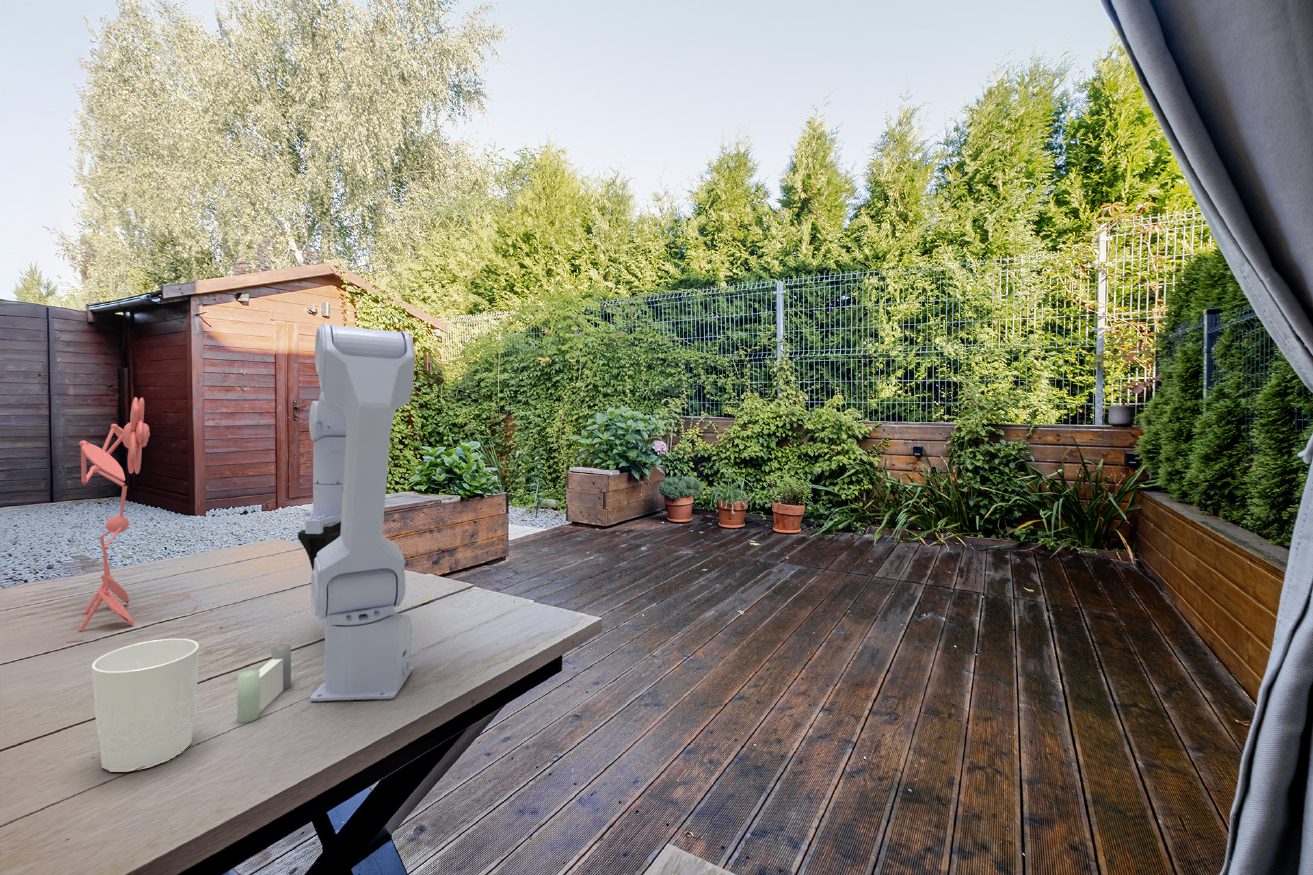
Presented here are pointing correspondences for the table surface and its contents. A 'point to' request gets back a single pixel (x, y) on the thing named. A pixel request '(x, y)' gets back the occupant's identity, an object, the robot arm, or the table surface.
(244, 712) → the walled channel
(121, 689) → the white cup
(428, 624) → the table surface
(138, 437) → the figurine
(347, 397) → the robot arm
